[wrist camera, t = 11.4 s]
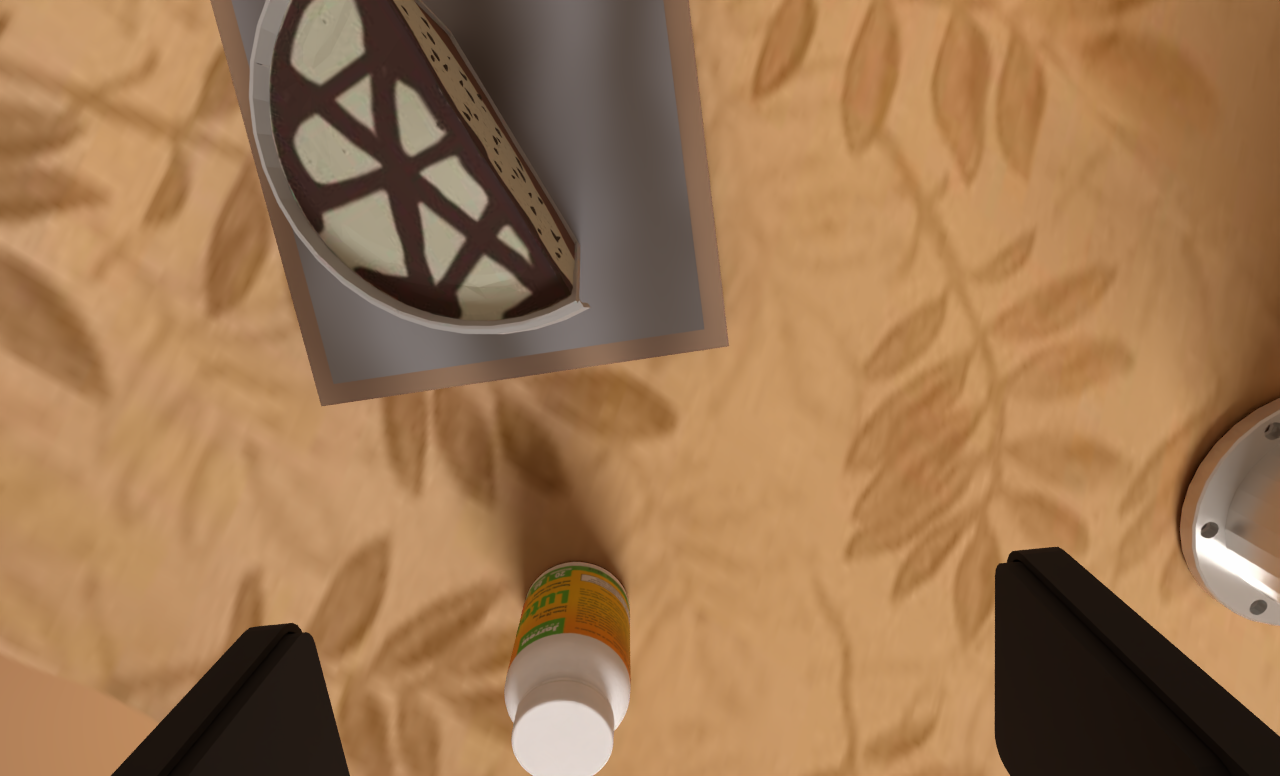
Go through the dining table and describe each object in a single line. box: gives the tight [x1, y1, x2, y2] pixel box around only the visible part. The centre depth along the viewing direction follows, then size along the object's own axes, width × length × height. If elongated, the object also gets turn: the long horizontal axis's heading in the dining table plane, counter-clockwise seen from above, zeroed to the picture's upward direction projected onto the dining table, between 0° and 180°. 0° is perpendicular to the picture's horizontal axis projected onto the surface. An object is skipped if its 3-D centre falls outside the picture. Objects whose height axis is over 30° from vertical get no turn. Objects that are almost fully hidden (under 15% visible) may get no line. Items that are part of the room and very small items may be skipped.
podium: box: [211, 0, 729, 406], centre depth 31 cm, size 18×18×3 cm
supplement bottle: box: [505, 562, 631, 776], centre depth 33 cm, size 5×5×10 cm
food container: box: [249, 0, 591, 334], centre depth 25 cm, size 12×6×10 cm, turn 31°
